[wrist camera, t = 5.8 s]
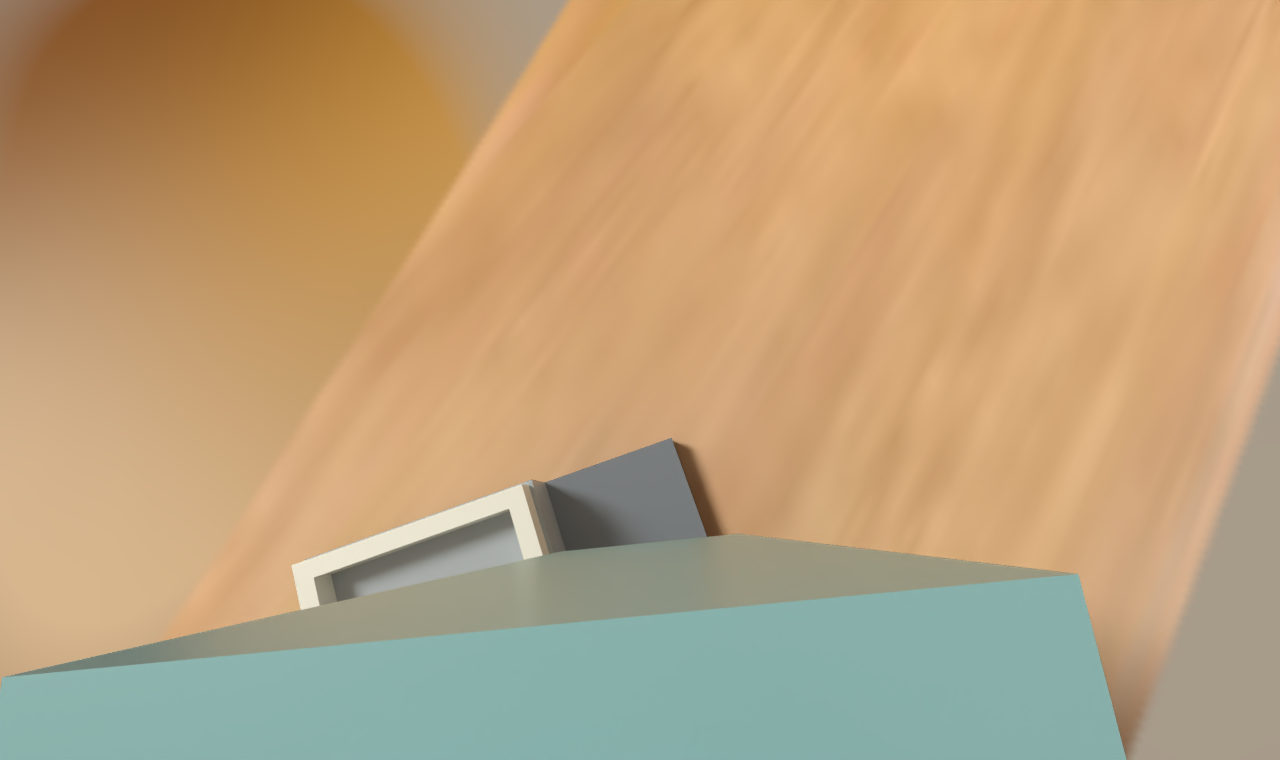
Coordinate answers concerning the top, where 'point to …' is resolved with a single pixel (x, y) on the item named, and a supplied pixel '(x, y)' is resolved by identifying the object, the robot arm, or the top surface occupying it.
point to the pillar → (613, 667)
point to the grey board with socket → (515, 528)
